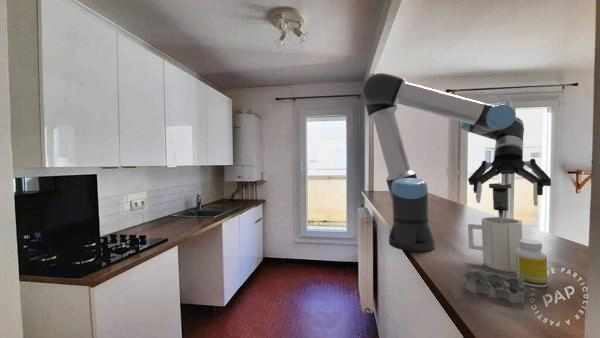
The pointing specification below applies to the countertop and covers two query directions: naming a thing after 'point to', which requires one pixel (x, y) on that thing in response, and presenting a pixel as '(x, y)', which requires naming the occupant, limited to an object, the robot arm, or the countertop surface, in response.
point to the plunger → (500, 198)
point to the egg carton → (483, 280)
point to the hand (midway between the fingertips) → (504, 201)
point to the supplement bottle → (531, 263)
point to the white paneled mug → (498, 242)
